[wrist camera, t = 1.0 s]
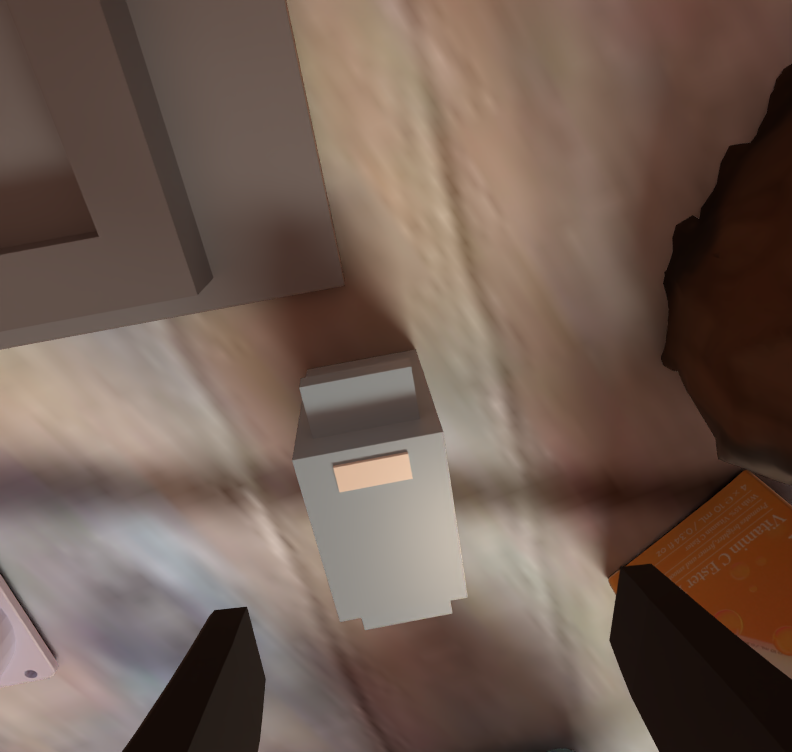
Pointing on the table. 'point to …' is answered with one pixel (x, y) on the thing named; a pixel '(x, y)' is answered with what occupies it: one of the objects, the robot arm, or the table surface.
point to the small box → (736, 564)
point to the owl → (740, 299)
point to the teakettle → (561, 750)
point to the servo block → (379, 490)
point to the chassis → (153, 164)
